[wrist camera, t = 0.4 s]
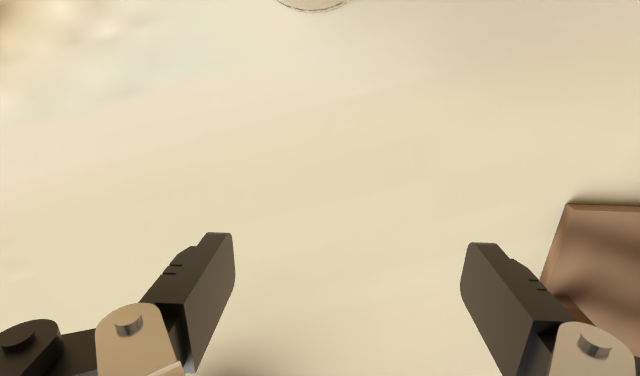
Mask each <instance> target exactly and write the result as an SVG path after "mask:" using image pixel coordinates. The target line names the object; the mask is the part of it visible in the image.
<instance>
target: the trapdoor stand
mask: <svg viewBox="0 0 640 376" xmlns="http://www.w3.org/2000/svg"><path fill="white" fill-rule="evenodd" d="M539 282H541V283H542V284H543V285H544V286H545V287H546V288H547V291H550V292H551V293H552V295H553V296H554V297H555V298H556V299H557V300H558V301H559V302H560V303H561V304H562V305H563V306H564V307H565V309H566V310H567V311H568V312H569V313H570V314H571V315H572V316H573V317H574V318H575V319H576V320H577V322H581V323H585V324H589V325H592V326H595V327H597V328H600V329H602V330H604V331H606V332H608V333H610V334H611V335H613V336H614V337H616V338H617V339H619V340H620V341H621V342H622V343H624V344H625V345H626V346H627V347H628V348H629V350H630V351H631V352H632V354H633V356H636V357H640V206H617V205H585V204H566V205H565V208H564V211H563V214H562V217H561V220H560V222H559V225H558V228H557V231H556V234H555V237H554V240H553V243H552V246H551V248H550V251H549V254H548V257H547V260H546V263H545V266H544V269H543V272H542V274H541V277H540V280H539Z"/></svg>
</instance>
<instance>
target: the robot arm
mask: <svg viewBox="0 0 640 376" xmlns="http://www.w3.org/2000/svg"><path fill="white" fill-rule="evenodd" d="M348 1H350V0H278V2H279V3H281V4H283V5H285V6H287V7H290V8H292V9H295V10H297V11H301V12H309V13H318V12H327V11H329V10H332V9H335V8H338V7H340V6H342V5H343V4H345V3H347V2H348ZM234 282H235V264H234V253H233V242H232V236H231V234H230V233H215V232H208V233H206V234H205V236H204V237H203V238H202V240H201V241H200V242H199V244H198V245H197V246H190V247H188V248H187V249H185V250H184V251H182V252H180V253H179V254H177V256H176V257H175V258H174V259H173V261H172V262H171V263H170V265H169V266H168V267H167V268H166V269H165V270H164V272H163V275H160V277H159V278H158V279H157V280H156V281H155V283H154V284H153V285H152V286H151V288H150V289H149V290H148V291H147V293H146V294H145V295H144V296H143V297H142V299H141V300H140V301H139V302H138V303H135V304H130V305H126V306H124V307H121V308H119V309H117V310H115V311H113V312H111V313H110V314H109V315H107V316H106V317H105V318H104V319H103V320H102V321H101V322H100V323H99V324H98V326H97V328H95V329H90V330H85V331H80V332H74V333H69V334H64V335H61V334H60V331H59V328H58V325H57V324H56V323H55V322H54V321H52V320H48V319H38V320H32V321H28V322H24V323H21V324H18V325H16V326H13V327H11V328H9V329H7V330H5V331H3V332H1V333H0V376H185V373H196V371H197V369H198V366H199V364H200V362H201V360H202V357H203V355H204V353H205V351H206V348H207V346H208V344H209V342H210V339H211V337H212V335H213V333H214V331H215V328H216V326H217V324H218V322H219V319H220V317H221V315H222V313H223V310H224V308H225V306H226V304H227V301H228V299H229V297H230V295H231V292H232V290H233V287H234ZM460 291H461V296H462V300H463V302H464V304H465V306H466V307H467V309H468V311H469V313H470V315H471V317H472V319H473V321H474V323H475V324H476V326H477V328H478V330H479V332H480V334H481V336H482V338H483V339H484V341H485V343H486V345H487V347H488V349H489V351H490V353H491V355H492V356H493V358H494V360H495V362H496V364H497V366H498V368H499V370H500V371H501V373H502V375H503V376H640V357H636V356H633V354H632V352H631V351H630V350H629V348H628V347H627V346H626V345H625V344H624V343H622V342H621V341H620V340H619V339H617V338H616V337H614V336H613V335H611V334H610V333H608V332H606V331H604V330H602V329H600V328H597V327H595V326H592V325H589V324H585V323H581V322H577V320H576V319H575V318H574V317H573V316H572V315H571V314H570V313H569V312H568V311H567V310H566V309H565V307H564V306H563V305H562V304H561V303H560V302H559V301H558V300H557V299H556V298H555V297H554V296H553V295H552V293H551V292H550V291H547V288H546V287H545V286H544V285H543V284H542V283H541V282H539V279H538V278H537V277H536V276H535V275H534V274H533V273H532V272H531V271H530V270H529V269H528V268H527V267H525V266H523V265H522V264H520V263H519V262H517V261H516V260H514V259H509V257H508V256H507V255H506V254H505V253H504V252H503V251H502V249H501V248H500V247H499V246H498V245H497V244H495V243H475V242H472V243H470V244H469V245H468V248H467V252H466V257H465V262H464V267H463V272H462V276H461V282H460Z"/></svg>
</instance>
